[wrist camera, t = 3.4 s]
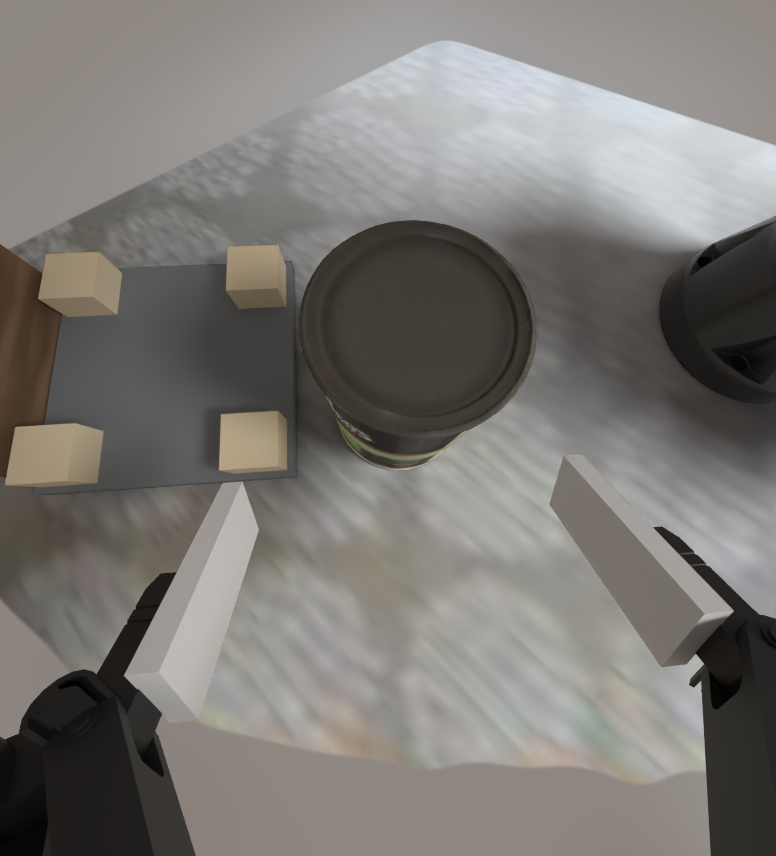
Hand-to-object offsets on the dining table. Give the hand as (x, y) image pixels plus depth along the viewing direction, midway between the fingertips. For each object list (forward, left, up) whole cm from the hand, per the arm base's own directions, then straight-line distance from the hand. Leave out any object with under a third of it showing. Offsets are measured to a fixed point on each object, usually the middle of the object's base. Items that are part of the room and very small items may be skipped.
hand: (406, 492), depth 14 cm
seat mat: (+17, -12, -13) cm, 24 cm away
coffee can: (-1, -7, -13) cm, 15 cm away
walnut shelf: (+22, -12, -13) cm, 28 cm away
